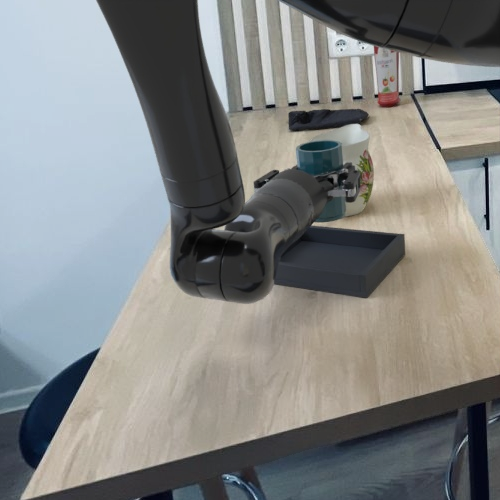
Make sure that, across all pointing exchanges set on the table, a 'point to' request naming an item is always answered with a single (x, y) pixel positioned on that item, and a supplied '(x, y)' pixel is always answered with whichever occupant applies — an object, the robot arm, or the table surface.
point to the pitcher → (354, 160)
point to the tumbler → (317, 161)
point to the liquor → (387, 76)
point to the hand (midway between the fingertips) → (326, 169)
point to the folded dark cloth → (324, 118)
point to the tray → (340, 260)
